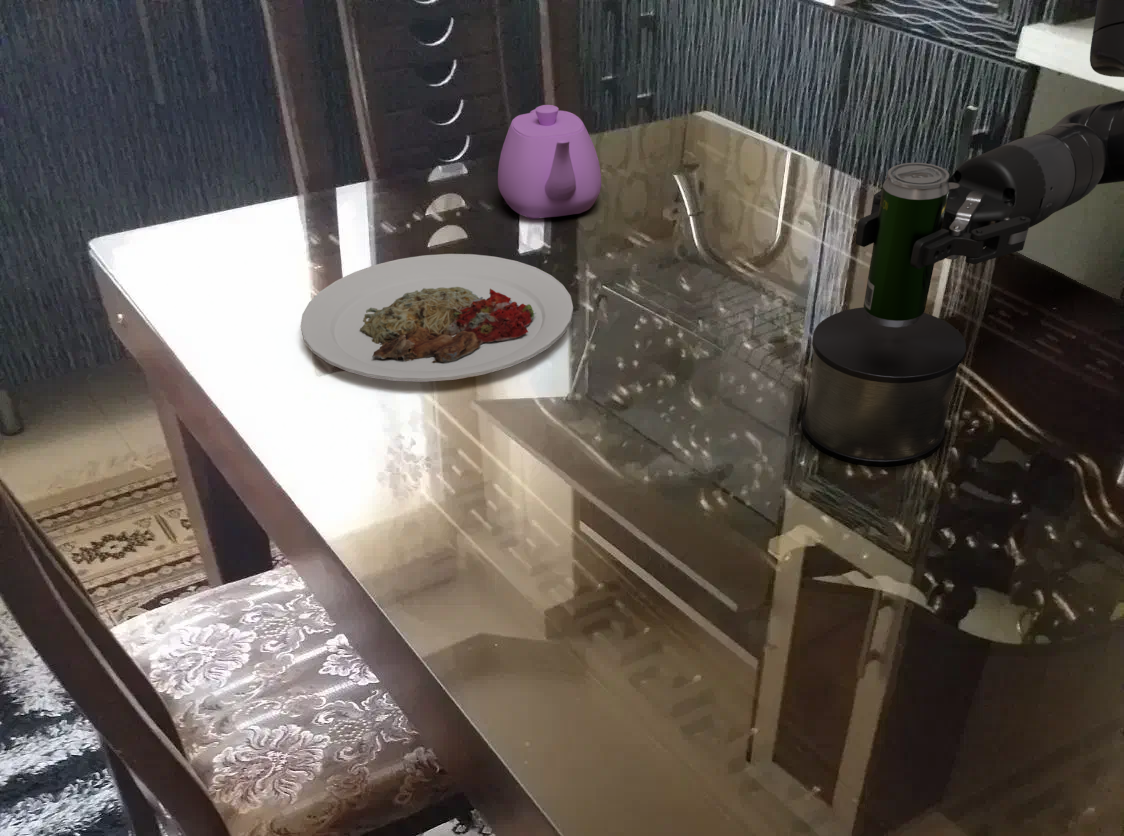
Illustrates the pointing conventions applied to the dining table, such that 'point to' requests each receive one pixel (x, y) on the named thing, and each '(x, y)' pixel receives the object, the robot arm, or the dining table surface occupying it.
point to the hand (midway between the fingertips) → (887, 244)
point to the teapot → (548, 165)
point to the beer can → (904, 243)
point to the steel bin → (881, 388)
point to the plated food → (436, 317)
